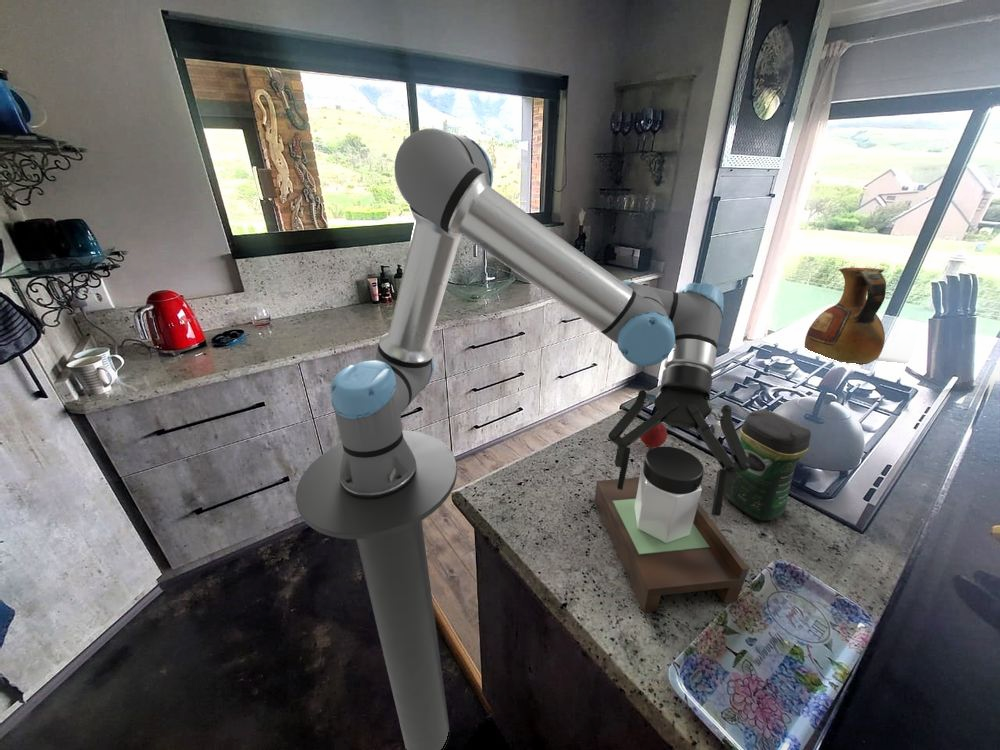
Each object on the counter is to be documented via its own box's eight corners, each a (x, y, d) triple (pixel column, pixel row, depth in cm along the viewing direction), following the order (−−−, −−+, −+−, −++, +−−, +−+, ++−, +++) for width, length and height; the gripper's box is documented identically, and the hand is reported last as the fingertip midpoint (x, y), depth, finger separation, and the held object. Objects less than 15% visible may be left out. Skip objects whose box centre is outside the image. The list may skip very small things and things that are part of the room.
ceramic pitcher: (847, 348, 142) (882, 261, 128) (891, 373, 124) (937, 275, 110) (788, 347, 143) (816, 261, 130) (823, 371, 125) (860, 274, 112)
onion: (664, 443, 93) (670, 413, 89) (662, 457, 88) (669, 426, 85) (638, 437, 95) (643, 408, 91) (635, 451, 90) (640, 421, 87)
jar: (694, 547, 60) (712, 485, 55) (638, 540, 62) (650, 479, 56) (681, 504, 68) (695, 446, 63) (631, 499, 70) (641, 441, 64)
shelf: (594, 501, 76) (597, 472, 73) (664, 495, 78) (671, 466, 75) (643, 612, 57) (651, 579, 54) (736, 602, 58) (749, 568, 55)
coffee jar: (790, 514, 73) (825, 428, 65) (761, 528, 70) (793, 440, 62) (742, 481, 81) (768, 401, 73) (714, 492, 78) (737, 410, 70)
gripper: (768, 393, 65) (753, 527, 60) (612, 368, 74) (586, 481, 69) (783, 377, 59) (768, 526, 53) (610, 351, 68) (581, 476, 62)
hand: (665, 501), depth 61 cm, fingers open, 13 cm apart
